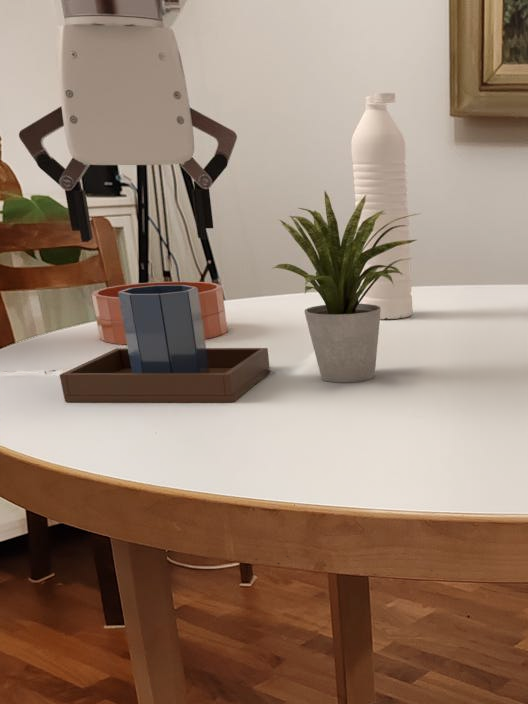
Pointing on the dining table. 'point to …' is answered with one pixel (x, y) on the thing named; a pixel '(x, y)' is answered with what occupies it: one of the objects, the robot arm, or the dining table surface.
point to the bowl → (109, 299)
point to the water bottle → (383, 203)
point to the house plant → (342, 292)
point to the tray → (166, 379)
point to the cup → (164, 329)
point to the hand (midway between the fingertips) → (145, 239)
